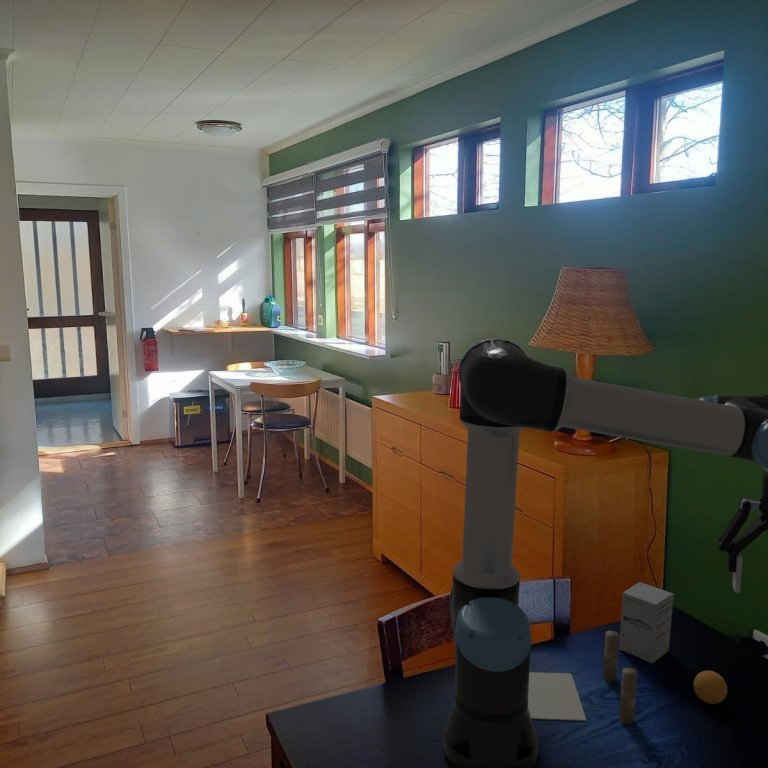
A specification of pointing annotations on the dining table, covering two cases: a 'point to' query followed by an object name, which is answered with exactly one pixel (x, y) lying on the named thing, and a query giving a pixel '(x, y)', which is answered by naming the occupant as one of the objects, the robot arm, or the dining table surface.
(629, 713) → the right post
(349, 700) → the dining table surface
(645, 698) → the dining table surface
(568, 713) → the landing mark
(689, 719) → the dining table surface
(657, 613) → the supplement box
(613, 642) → the left post
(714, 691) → the ball
